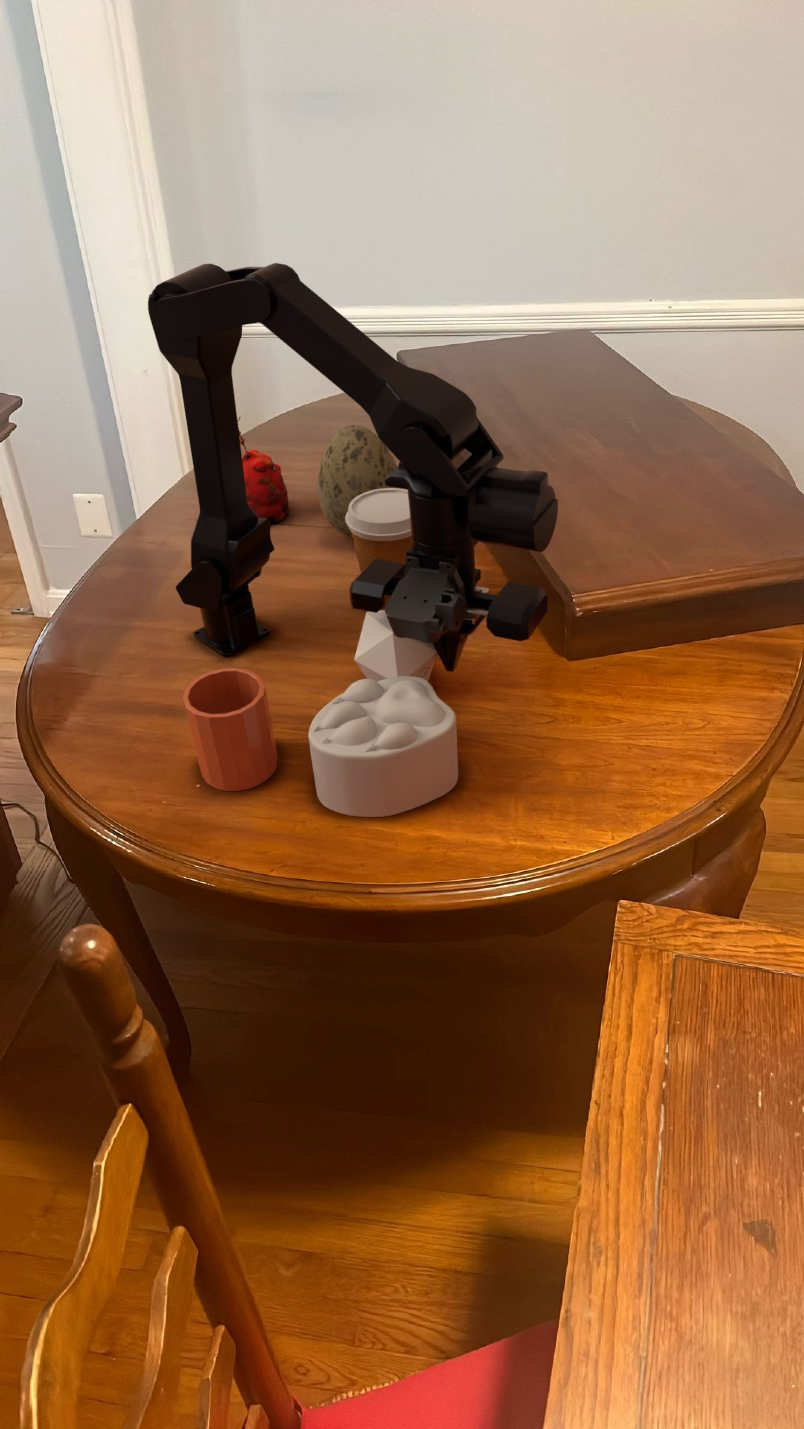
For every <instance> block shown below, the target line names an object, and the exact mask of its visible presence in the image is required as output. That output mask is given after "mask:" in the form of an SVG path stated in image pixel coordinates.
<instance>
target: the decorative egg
mask: <svg viewBox="0 0 804 1429" xmlns="http://www.w3.org/2000/svg"><path fill="white" fill-rule="evenodd" d="M397 466H398V465H397V462H396V460H395V458H394V455H393V453H392V452H391V451H390V450H389V449H388V448H387V447H386V446H385V445H384V443H383V442H382V441H381V440H380V439H379V437H378V435H377V433H375V432H374V431H372V430H371V429H369V428H367V427H365V426H364V425H360V424H348V425H346V426H343V427H342V428H341V429H339V430H338V431H337V432H336V433H335V434H334V435H333V437H332V438H331V439H330V440H329V443H328V444H327V446H326V448H325V450H324V453H323V455H322V458H321V461H320V466H319V470H318V475H317V476H318V477H317V496H318V502H319V505H320V508H321V511H322V513H323V515H324V517H325V519H326V521H328V523H329V524H330V525H331V526H332V527H333V529H335V530H336V531H337V532H339V533H340V534H342V535H343V536H345V537H348V538H350V539H353V537H352V532H351V530H350V529H349V527H348V526H347V524H346V520H345V516H346V514H347V512H348V508H349V504H350V502H351V501H352V500H353V499H354V498H356V497H357V496H359V495H361V494H363V493H365V492H368V491H372V490H376V489H383V488H396V487H390V486H387V485H386V484H385V479H386V478H387V477H388V476H389V475H390V474H392V473H393V472H394V471H395V469H396V468H397ZM399 489H403V488H399Z"/></svg>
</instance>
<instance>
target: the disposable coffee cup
mask: <svg viewBox="0 0 804 1429" xmlns="http://www.w3.org/2000/svg"><path fill="white" fill-rule="evenodd" d="M345 520H346V524H347V526H348V527H349V529H350V530H351V532H352V537H353V538H352V540H353V543H354V550H355V554H356V557H357V561H358V562H357V563H358V566H359V570H360V574H361V573H362V572H363V571H364V570H365V569H366V568H367V567H368V566H369V565H370V564H371V563H372V562H373V561H374V560H375V559H379V560H385V561H391V562H397V563H402V564H406V560H405V559H406V557H407V555H406V551H407V550H408V549H409V548H410V547H411V546H412V535H411V523H410V511H409V500H408V490H407V489H403V488H402V489H399V488H383V489H376V490H372V491H368V492H365V493H363V494H361V495H359V496H357V497H356V498H354V499H353V500H352V501H351V502H350V504H349V508H348V512H347V514H346V516H345ZM384 598H385V605H384V606H383V608H381V609H380V610H385V608H386V605H387V603H388V602H389V600H390V598H391V596H388V595H385V596H384Z"/></svg>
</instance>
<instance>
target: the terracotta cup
mask: <svg viewBox="0 0 804 1429" xmlns="http://www.w3.org/2000/svg"><path fill="white" fill-rule="evenodd" d="M182 702H183V707H184V710H185V714H186V718H187V723H188V727H189V730H190V734H191V738H192V739H191V740H192V743H193V747H194V750H195V754H196V755H195V756H196V758H197V763H198V766H199V770H200V773H201V777H202V778H203V780H204V781H205V783H206V784H208V785H209V786H210V787H212V788H214V789H216V790H219V791H223V792H242V791H246V790H250V789H252V788H253V789H254V788H255V787H257V786H260V785H261V784H264V783H265V782H266V781H268V780H269V779H270V778H271V777H272V776H273V775H274V773H275V771H276V769H277V767H278V762H279V760H278V755H279V754H278V748H277V744H276V738H275V732H274V727H273V722H272V716H271V710H270V705H269V699H268V694H267V689H266V685H265V681H263V678H262V676H260V675H258V674H257V673H255V672H254V671H252V670H249V669H246V668H240V667H223V668H219V669H215V670H211V671H207V672H205V673H203V674H202V675H200V676H198V677H195V678H194V679H193V680H192V681H191V682H190V683H189V684H188V685H187V686H186V688H185V690H184V693H183V696H182Z"/></svg>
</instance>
